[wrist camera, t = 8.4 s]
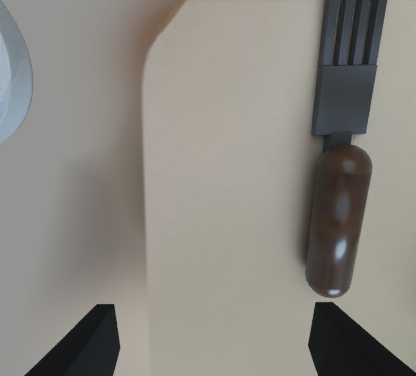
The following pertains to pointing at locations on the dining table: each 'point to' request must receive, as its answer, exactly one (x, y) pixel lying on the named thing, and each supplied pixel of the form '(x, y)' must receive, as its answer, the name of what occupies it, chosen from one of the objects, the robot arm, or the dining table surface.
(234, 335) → the dining table surface
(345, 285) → the fork
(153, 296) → the dining table surface
